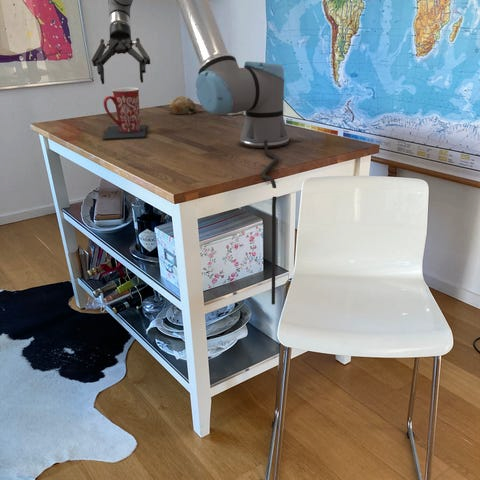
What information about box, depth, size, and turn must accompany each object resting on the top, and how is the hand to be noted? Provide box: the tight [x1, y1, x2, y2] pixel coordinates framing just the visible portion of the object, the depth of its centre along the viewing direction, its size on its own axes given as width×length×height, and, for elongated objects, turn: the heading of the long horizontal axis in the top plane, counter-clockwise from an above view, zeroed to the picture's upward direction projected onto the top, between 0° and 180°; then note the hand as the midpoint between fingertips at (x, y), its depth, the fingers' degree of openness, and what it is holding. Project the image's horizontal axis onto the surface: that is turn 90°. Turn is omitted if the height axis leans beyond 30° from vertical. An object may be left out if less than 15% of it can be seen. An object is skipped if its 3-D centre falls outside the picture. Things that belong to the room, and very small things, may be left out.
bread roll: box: [168, 95, 197, 116], centre depth 212 cm, size 10×10×8 cm
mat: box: [102, 124, 148, 141], centre depth 182 cm, size 20×14×1 cm
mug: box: [103, 87, 142, 132], centre depth 179 cm, size 13×9×14 cm
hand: (122, 80), depth 181 cm, fingers open, 13 cm apart
